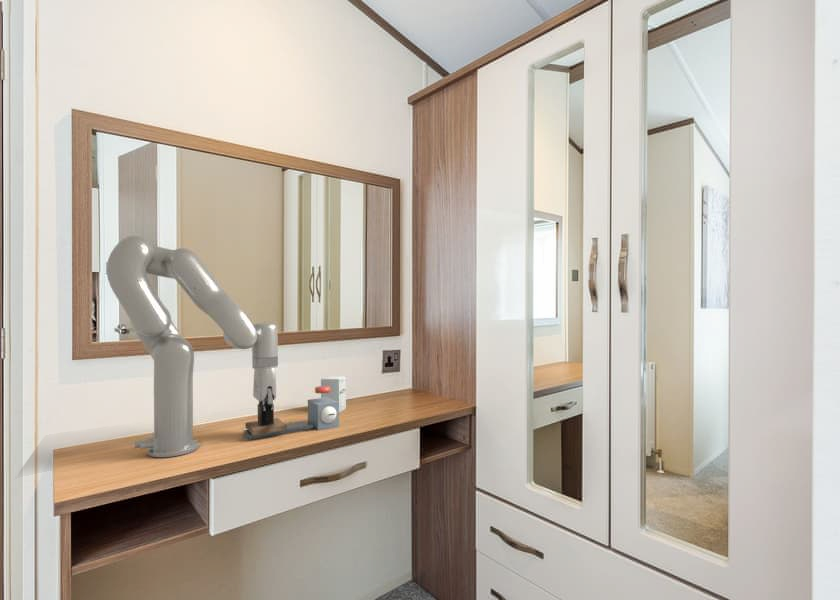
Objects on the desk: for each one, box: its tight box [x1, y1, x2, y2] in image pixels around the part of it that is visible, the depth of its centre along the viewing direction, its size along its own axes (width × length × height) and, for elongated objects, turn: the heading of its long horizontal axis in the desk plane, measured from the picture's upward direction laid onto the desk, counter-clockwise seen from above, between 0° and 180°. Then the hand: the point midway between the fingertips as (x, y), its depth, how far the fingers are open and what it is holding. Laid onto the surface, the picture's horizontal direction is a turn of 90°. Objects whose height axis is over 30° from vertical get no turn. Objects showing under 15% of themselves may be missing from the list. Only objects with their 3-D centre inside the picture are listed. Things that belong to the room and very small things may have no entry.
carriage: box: [244, 403, 287, 435], centre depth 138 cm, size 10×10×8 cm
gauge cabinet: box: [307, 397, 340, 431], centre depth 148 cm, size 7×10×8 cm
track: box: [242, 420, 314, 441], centre depth 140 cm, size 20×6×2 cm, turn 123°
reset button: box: [314, 385, 330, 394], centre depth 148 cm, size 5×5×2 cm
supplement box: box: [320, 375, 347, 414], centre depth 168 cm, size 7×7×13 cm
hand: (265, 421), depth 138 cm, fingers closed on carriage, 3 cm apart
